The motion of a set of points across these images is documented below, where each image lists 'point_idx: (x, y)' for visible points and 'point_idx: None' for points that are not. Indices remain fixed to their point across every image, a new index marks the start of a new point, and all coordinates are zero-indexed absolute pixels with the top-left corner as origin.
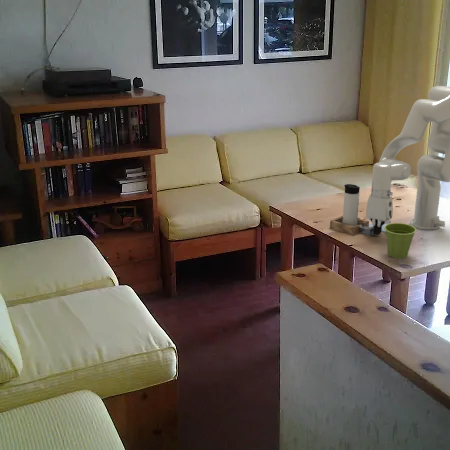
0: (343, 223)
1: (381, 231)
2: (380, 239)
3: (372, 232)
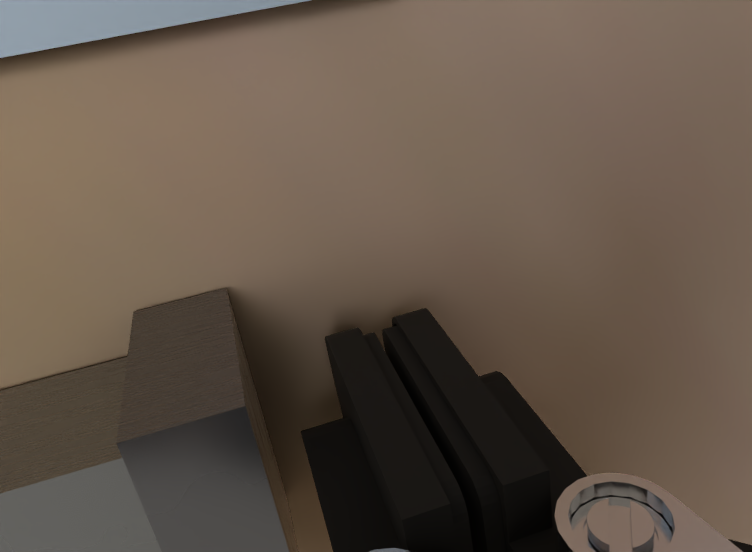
0: None
1: (198, 15)
2: None
3: (274, 468)
